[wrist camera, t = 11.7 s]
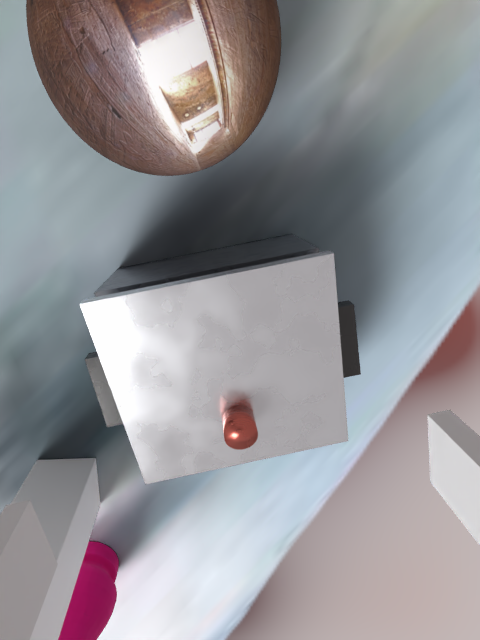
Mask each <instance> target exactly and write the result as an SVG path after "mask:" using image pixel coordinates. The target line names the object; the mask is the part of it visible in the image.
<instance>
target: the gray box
mask: <svg viewBox="0 0 480 640" xmlns="http://www.w3.org/2000/svg"><path fill="white" fill-rule="evenodd" d="M314 253H319V248H318V247H316V246H314V245H312V244H310V243H308V242H306V241H304V240H303V239H301V238H299V237H297V236H295V235H293V234H289V235H284V236H279V237H274V238H269V239H264V240H259V241H254V242H249V243H244V244H239V245H234V246H229V247H223V248H218V249H213V250H208V251H203V252H198V253H193V254H188V255H183V256H178V257H173V258H168V259H163V260H158V261H153V262H148V263H143V264H138V265H133V266H128V267H123V268H118V269H117V270H116V271H115V272H114V273H113V274H112V275H111V276H110V277H109V278H108V279H107V280H106V281H105V282H104V283H103V284H102V285H101V286H100V287H99V288H98V289H97V290H96V291H95V292H94V294H95V297H99V296H104V295H109V294H114V293H119V292H124V291H129V290H134V289H139V288H144V287H149V286H154V285H159V284H164V283H169V282H174V281H179V280H184V279H189V278H194V277H199V276H204V275H209V274H214V273H219V272H224V271H229V270H234V269H239V268H244V267H249V266H254V265H259V264H264V263H269V262H274V261H279V260H284V259H289V258H294V257H299V256H304V255H309V254H314ZM338 314H339V327H340V340H341V353H342V366H343V378H345V377H349V376H354V375H359V374H361V373H360V363H359V353H358V342H357V332H356V322H355V312H354V304H352V303H351V302H350V301H349V300H348V301H343V302H338ZM85 362H86V365H87V368H88V371H89V374H90V377H91V380H92V383H93V386H94V389H95V392H96V395H97V398H98V401H99V404H100V407H101V410H102V413H103V416H104V419H105V422H106V425H107V427H111V426H116V425H121V424H123V421H122V419H121V416H120V413H119V410H118V408H117V405H116V402H115V399H114V397H113V394H112V391H111V388H110V386H109V383H108V380H107V378H106V375H105V372H104V369H103V367H102V364H101V361H100V358H99V356H98V353H97V352H93V353H89V354H88V355H87V357H86V358H85Z"/></svg>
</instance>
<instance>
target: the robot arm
mask: <svg viewBox="0 0 480 640" xmlns="http://www.w3.org/2000/svg"><path fill="white" fill-rule="evenodd" d="M428 438H429V461H430V482H431V484H432V485H433V486H434V487H435V489H436V490H437V491H438V493H439V494H440V495H441V496H442V498H443V499H444V500H445V502H446V503H447V504H448V505H449V507H450V508H451V509H452V511H453V512H454V513H455V514H456V516H457V517H458V518H459V520H460V521H461V522H462V523H463V525H464V526H465V527H466V529H467V530H468V531H469V532H470V534H471V535H472V536H473V538H474V539H475V540H476V541H477V543H478V544H479V545H480V436H479V435H478V434H477V433H475V432H474V431H473V430H472V429H471V428H470V427H469V426H467V425H466V424H465V423H464V422H463V421H462V420H461V419H460V418H459V417H458V416H456V415H455V414H454V413H453V412H452V411H451V410H447V411H442V412H437V413H433V414H428ZM57 565H58V563H57V561H56V559H55V556H54V554H53V552H52V549H51V547H50V545H49V542H48V540H47V538H46V535H45V533H44V531H43V528H42V526H41V524H40V522H39V519H38V517H37V515H36V512H35V510H34V508H33V505H32V503H31V501H30V500H28V501H23V502H18V503H14V504H9V505H6V506H5V508H4V510H3V511H2V513H1V515H0V640H30V638H31V635H32V632H33V630H34V627H35V624H36V621H37V619H38V616H39V613H40V611H41V608H42V605H43V603H44V600H45V597H46V595H47V592H48V589H49V587H50V584H51V581H52V579H53V576H54V573H55V571H56V568H57Z"/></svg>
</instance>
